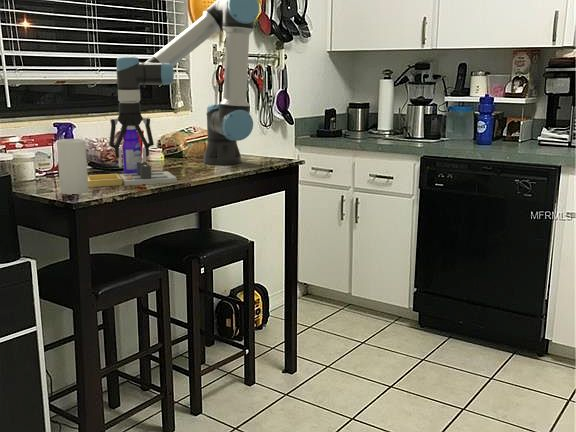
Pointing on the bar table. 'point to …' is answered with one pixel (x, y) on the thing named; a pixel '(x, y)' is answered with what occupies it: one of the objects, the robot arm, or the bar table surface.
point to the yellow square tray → (104, 180)
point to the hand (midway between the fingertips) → (132, 166)
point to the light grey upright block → (72, 166)
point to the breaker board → (155, 178)
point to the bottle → (131, 150)
